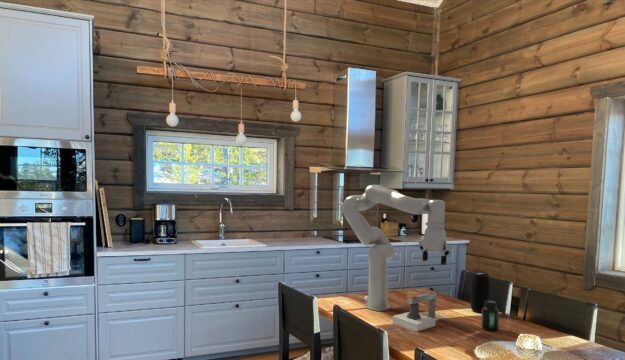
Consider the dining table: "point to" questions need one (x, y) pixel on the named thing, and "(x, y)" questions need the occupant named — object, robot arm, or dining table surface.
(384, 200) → the robot arm
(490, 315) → the supplement bottle
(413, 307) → the plug
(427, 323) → the socket block
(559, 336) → the dining table surface
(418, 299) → the grey long bar
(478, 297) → the portable speaker
